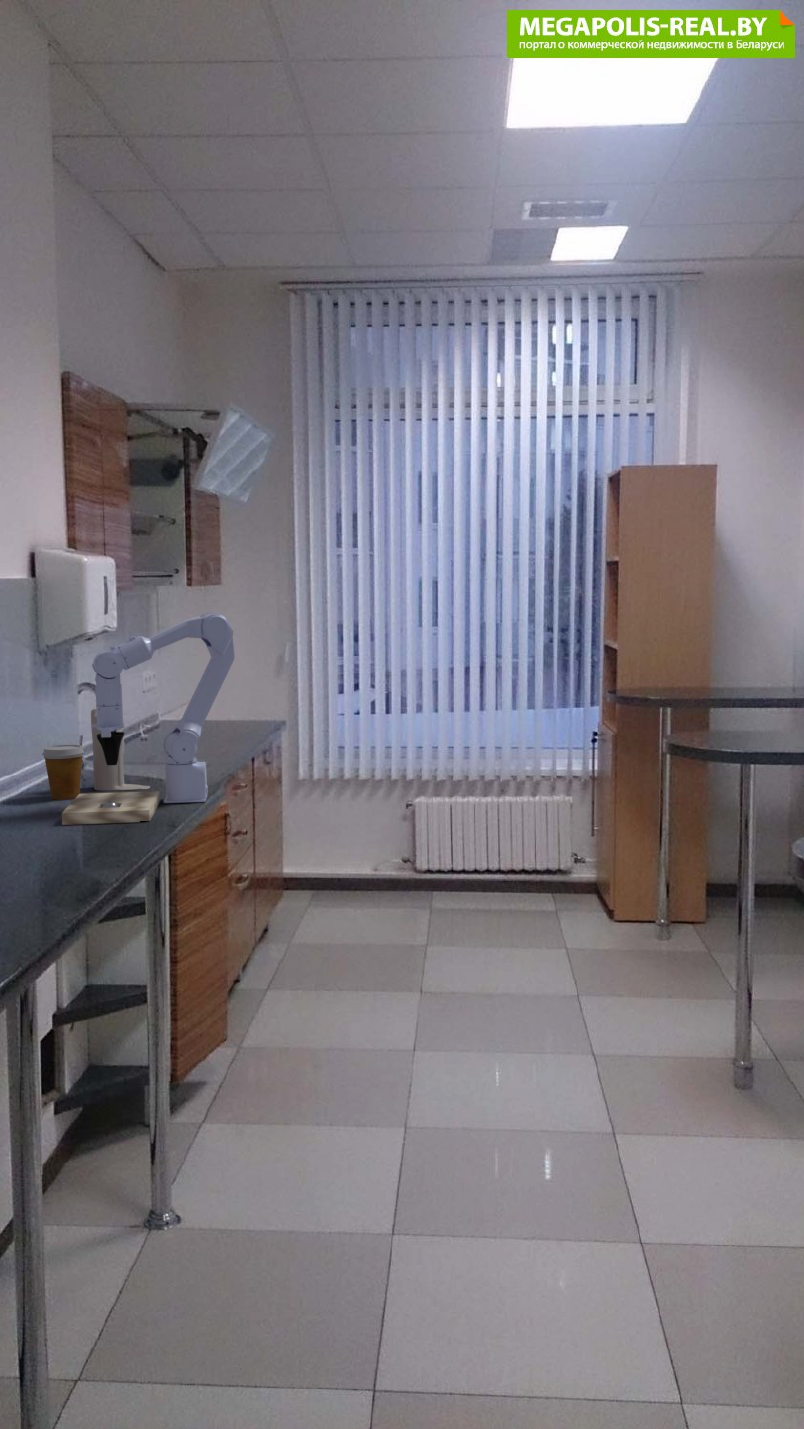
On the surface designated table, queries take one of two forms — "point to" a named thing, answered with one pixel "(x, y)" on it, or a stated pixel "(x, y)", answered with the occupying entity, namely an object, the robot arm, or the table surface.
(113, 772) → the beige bookend
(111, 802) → the steel ball
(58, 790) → the disposable coffee cup
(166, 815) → the table surface
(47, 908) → the table surface
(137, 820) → the birch plate
